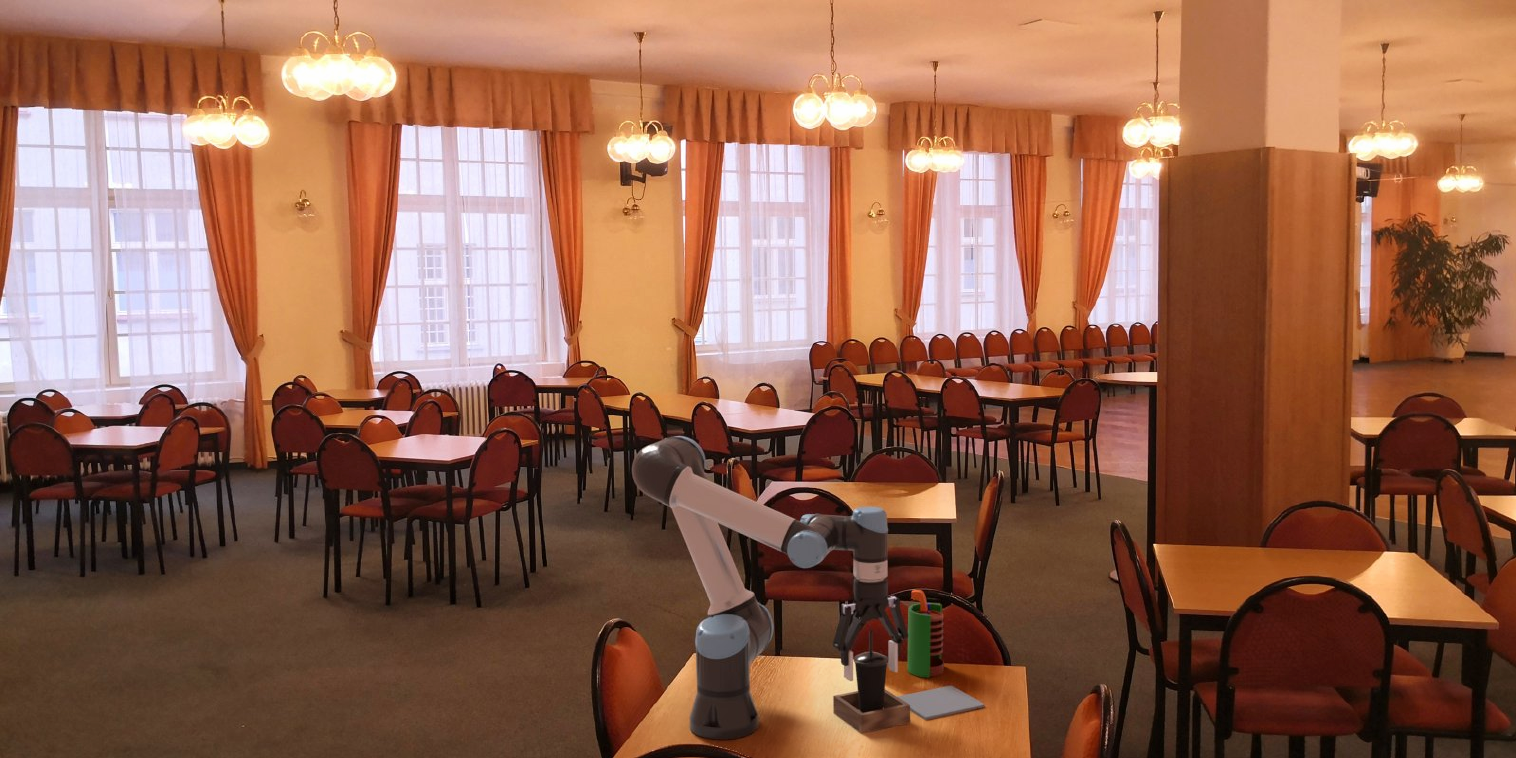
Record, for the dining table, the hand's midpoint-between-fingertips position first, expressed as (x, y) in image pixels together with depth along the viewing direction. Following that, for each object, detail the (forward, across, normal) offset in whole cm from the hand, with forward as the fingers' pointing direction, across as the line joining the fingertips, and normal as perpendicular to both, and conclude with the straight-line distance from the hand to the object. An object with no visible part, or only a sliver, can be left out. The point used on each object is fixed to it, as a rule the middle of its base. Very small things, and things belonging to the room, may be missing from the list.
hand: (871, 674), depth 248 cm
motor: (+10, +27, +19) cm, 35 cm away
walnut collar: (+10, 0, 0) cm, 10 cm away
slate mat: (+10, +18, 0) cm, 21 cm away
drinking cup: (+10, 0, 0) cm, 10 cm away
